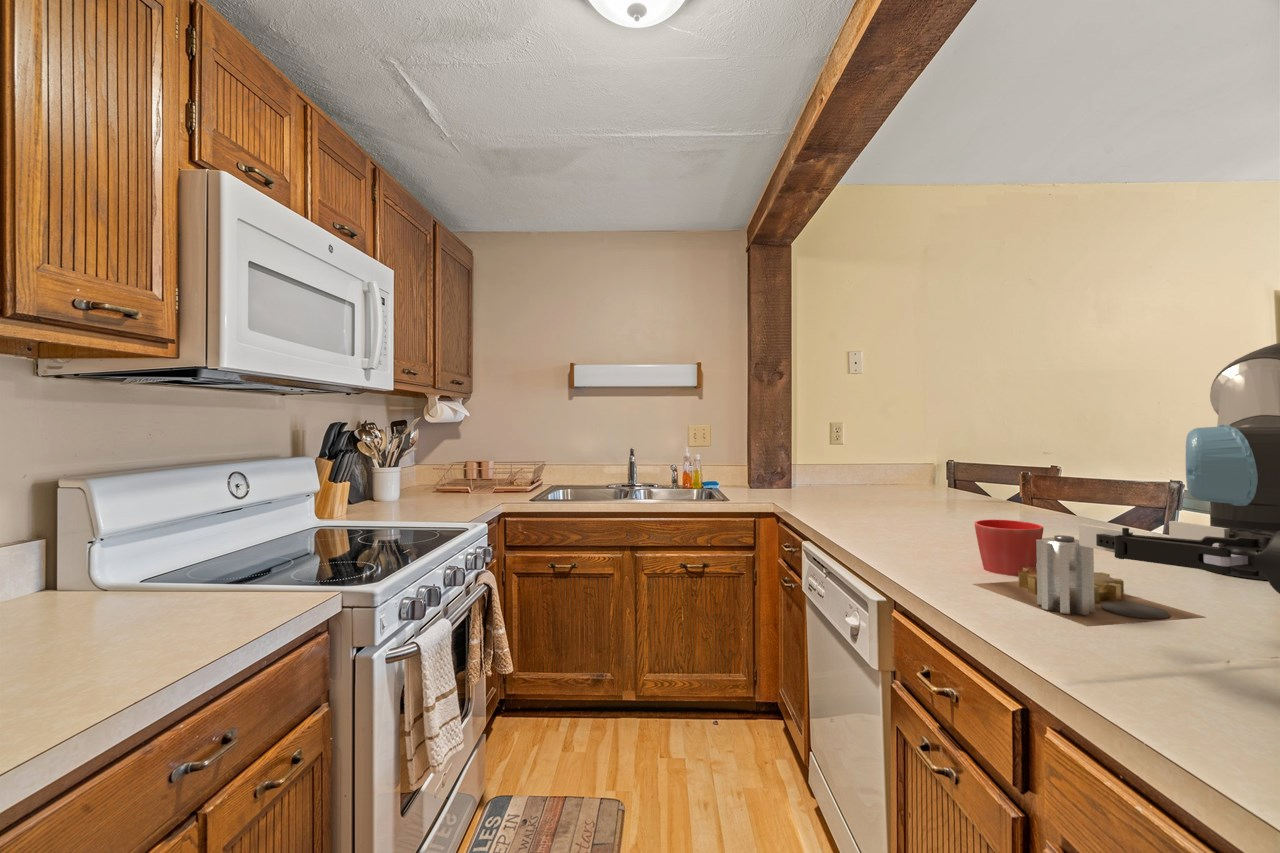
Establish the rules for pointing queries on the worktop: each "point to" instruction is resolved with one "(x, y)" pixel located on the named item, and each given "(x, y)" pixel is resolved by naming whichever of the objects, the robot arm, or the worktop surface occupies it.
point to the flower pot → (1007, 545)
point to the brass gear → (1103, 585)
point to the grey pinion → (1065, 575)
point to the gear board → (1099, 607)
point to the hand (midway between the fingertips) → (1126, 532)
